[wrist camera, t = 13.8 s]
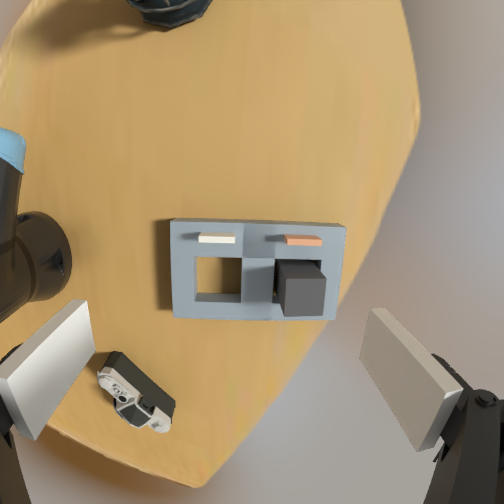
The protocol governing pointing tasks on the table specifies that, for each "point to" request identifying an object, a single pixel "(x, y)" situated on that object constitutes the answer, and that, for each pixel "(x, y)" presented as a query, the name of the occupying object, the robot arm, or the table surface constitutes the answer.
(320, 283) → the plug
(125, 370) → the camera
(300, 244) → the socket block
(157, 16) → the lantern
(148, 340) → the table surface
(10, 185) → the robot arm
